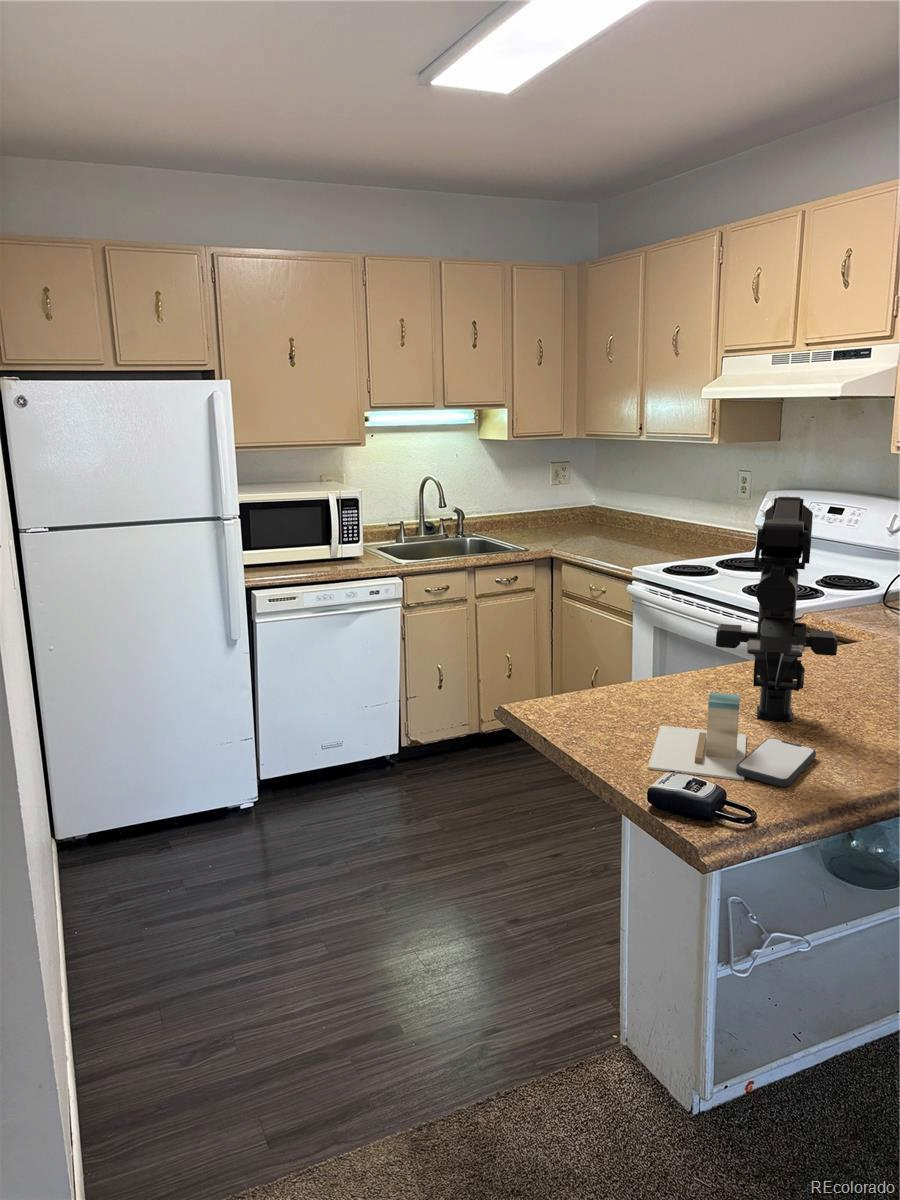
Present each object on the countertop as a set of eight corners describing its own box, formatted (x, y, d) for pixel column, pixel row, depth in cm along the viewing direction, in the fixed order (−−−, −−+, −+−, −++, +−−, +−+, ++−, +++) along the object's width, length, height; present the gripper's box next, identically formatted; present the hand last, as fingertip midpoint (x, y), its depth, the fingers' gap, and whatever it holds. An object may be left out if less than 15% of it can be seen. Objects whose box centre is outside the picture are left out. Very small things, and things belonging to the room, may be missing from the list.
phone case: (786, 790, 137) (817, 757, 149) (787, 781, 136) (818, 749, 148) (732, 775, 142) (766, 744, 154) (733, 766, 142) (767, 736, 154)
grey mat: (660, 727, 164) (660, 720, 164) (746, 736, 159) (746, 729, 158) (647, 768, 146) (647, 761, 145) (744, 780, 140) (744, 772, 140)
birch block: (707, 745, 154) (710, 692, 152) (736, 748, 152) (740, 695, 150) (705, 756, 149) (708, 701, 147) (735, 759, 148) (739, 704, 145)
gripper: (716, 605, 138) (711, 698, 141) (843, 613, 132) (835, 709, 135) (719, 591, 148) (715, 677, 151) (838, 597, 142) (830, 687, 145)
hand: (771, 688), depth 146 cm, fingers closed
